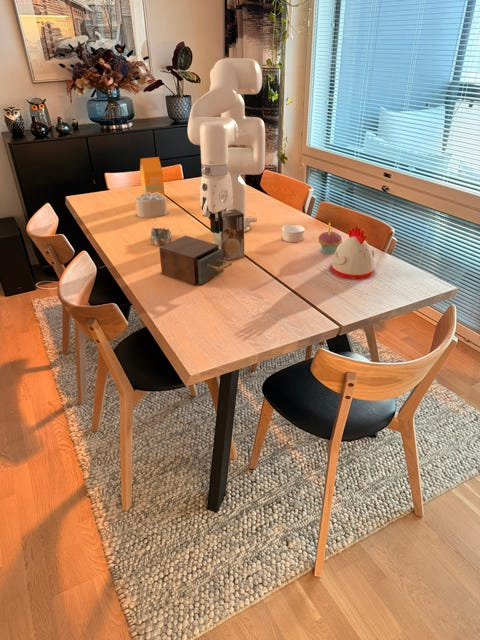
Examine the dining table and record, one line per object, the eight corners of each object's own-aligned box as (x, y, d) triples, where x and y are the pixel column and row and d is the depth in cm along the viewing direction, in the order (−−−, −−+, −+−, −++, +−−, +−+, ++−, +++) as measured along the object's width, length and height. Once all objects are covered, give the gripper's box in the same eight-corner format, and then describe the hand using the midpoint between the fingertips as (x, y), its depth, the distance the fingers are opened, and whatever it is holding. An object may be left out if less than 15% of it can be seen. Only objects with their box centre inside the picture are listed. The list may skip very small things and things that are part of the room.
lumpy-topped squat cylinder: (169, 214, 204) (168, 194, 200) (142, 219, 199) (139, 199, 194) (160, 207, 212) (159, 189, 207) (133, 212, 206) (131, 193, 202)
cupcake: (335, 257, 163) (338, 225, 157) (313, 252, 167) (315, 220, 161) (343, 249, 170) (347, 218, 163) (322, 244, 173) (325, 214, 167)
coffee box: (236, 250, 169) (236, 208, 161) (244, 257, 164) (244, 213, 156) (214, 255, 165) (212, 212, 157) (221, 262, 161) (220, 217, 152)
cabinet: (219, 271, 154) (218, 244, 149) (195, 285, 146) (193, 257, 140) (186, 261, 161) (185, 235, 156) (161, 274, 153) (159, 247, 148)
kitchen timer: (346, 282, 147) (352, 238, 139) (323, 265, 158) (327, 223, 150) (381, 274, 152) (389, 231, 144) (356, 259, 162) (362, 218, 154)
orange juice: (143, 199, 223) (138, 157, 212) (160, 197, 226) (156, 155, 216) (147, 204, 217) (142, 160, 206) (165, 201, 220) (161, 158, 209)
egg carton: (171, 245, 174) (170, 235, 172) (151, 246, 173) (150, 236, 171) (171, 234, 183) (170, 225, 181) (152, 235, 182) (151, 226, 180)
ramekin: (276, 239, 179) (277, 228, 176) (290, 233, 184) (291, 222, 182) (294, 245, 173) (295, 234, 171) (308, 238, 179) (309, 227, 177)
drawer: (237, 275, 149) (236, 253, 145) (215, 289, 142) (214, 265, 138) (192, 261, 159) (191, 240, 155) (170, 273, 151) (168, 251, 147)
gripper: (208, 177, 122) (210, 242, 132) (241, 166, 132) (241, 226, 142) (186, 173, 126) (190, 236, 135) (221, 162, 136) (222, 222, 146)
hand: (217, 231), depth 139 cm, fingers closed
